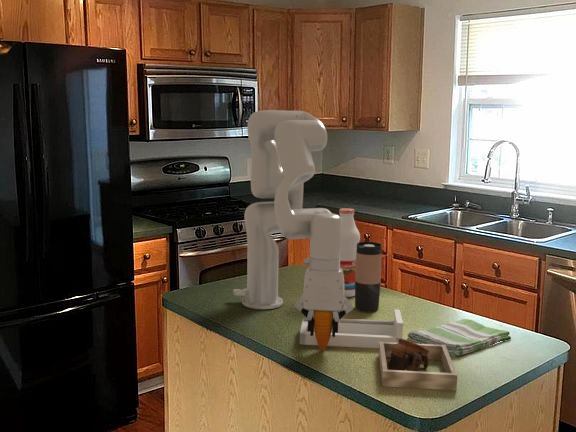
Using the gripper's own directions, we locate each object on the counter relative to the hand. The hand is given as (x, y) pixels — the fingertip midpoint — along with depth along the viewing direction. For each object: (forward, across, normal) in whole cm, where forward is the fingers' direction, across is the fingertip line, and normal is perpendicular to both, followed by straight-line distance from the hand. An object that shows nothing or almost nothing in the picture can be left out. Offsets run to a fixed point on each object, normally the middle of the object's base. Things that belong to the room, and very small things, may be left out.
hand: (322, 333), depth 160 cm
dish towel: (+5, +36, +14) cm, 39 cm away
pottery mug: (+5, +20, -10) cm, 23 cm away
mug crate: (+4, +22, -10) cm, 25 cm away
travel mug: (+5, +12, +36) cm, 38 cm away
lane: (+4, +7, +9) cm, 12 cm away
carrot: (+5, 0, 0) cm, 5 cm away
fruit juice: (+5, +5, +51) cm, 51 cm away
